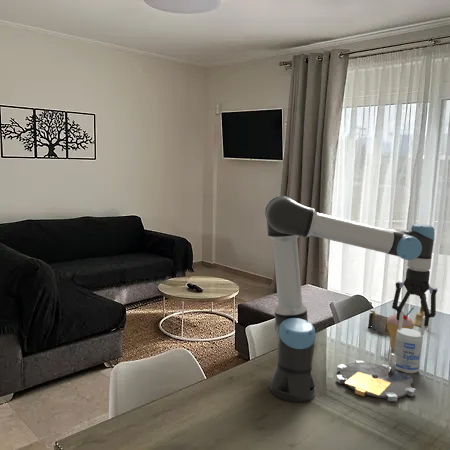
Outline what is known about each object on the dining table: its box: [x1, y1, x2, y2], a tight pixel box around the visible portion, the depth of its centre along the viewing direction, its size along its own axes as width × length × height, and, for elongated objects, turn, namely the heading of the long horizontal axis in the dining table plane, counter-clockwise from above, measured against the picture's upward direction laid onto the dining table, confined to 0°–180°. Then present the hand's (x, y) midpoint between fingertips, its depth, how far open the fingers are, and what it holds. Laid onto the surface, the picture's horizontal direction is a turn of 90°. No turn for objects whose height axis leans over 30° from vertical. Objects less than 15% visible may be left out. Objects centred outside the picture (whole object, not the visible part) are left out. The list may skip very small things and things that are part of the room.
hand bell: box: [412, 293, 430, 328], centre depth 229 cm, size 8×8×16 cm
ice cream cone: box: [386, 307, 415, 352], centre depth 193 cm, size 11×11×20 cm
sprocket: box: [336, 352, 417, 402], centre depth 162 cm, size 27×27×9 cm
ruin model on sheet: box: [367, 309, 390, 336], centre depth 216 cm, size 11×3×10 cm, turn 41°
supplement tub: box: [393, 328, 424, 374], centre depth 175 cm, size 10×10×15 cm
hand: (410, 331), depth 162 cm, fingers open, 7 cm apart
